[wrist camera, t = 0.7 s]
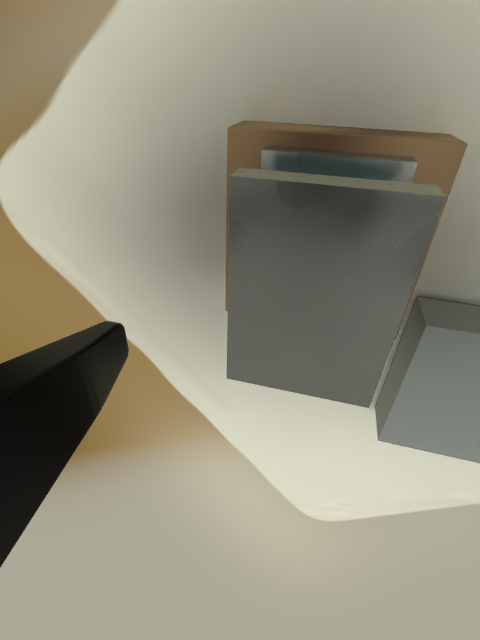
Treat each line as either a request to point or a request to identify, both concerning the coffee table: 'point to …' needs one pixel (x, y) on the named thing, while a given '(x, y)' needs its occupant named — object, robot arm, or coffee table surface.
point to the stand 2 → (435, 382)
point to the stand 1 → (427, 149)
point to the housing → (323, 267)
